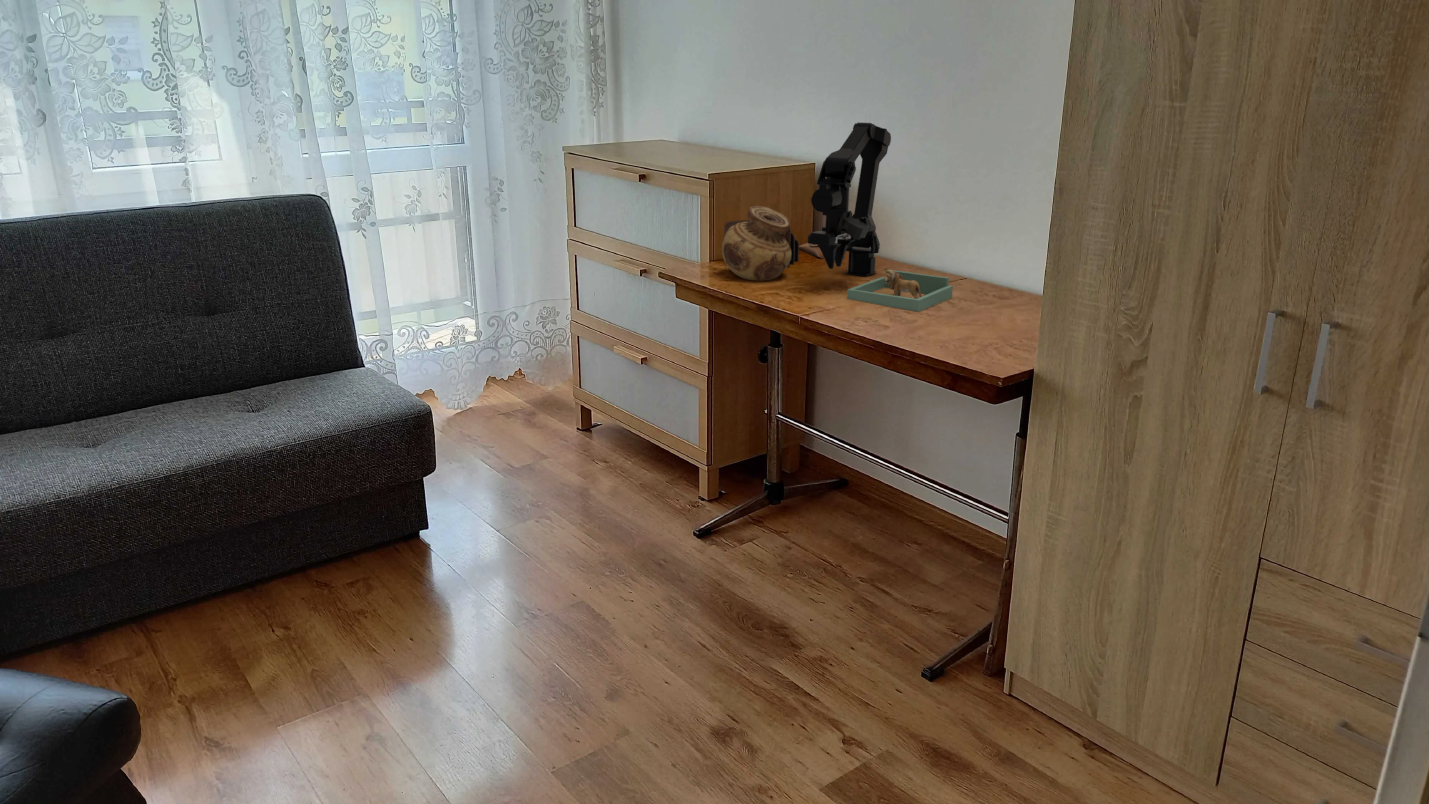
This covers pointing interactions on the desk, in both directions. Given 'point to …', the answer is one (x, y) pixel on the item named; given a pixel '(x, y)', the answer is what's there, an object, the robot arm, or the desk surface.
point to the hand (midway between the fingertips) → (834, 267)
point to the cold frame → (928, 285)
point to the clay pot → (758, 245)
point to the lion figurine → (901, 284)
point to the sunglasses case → (811, 250)
